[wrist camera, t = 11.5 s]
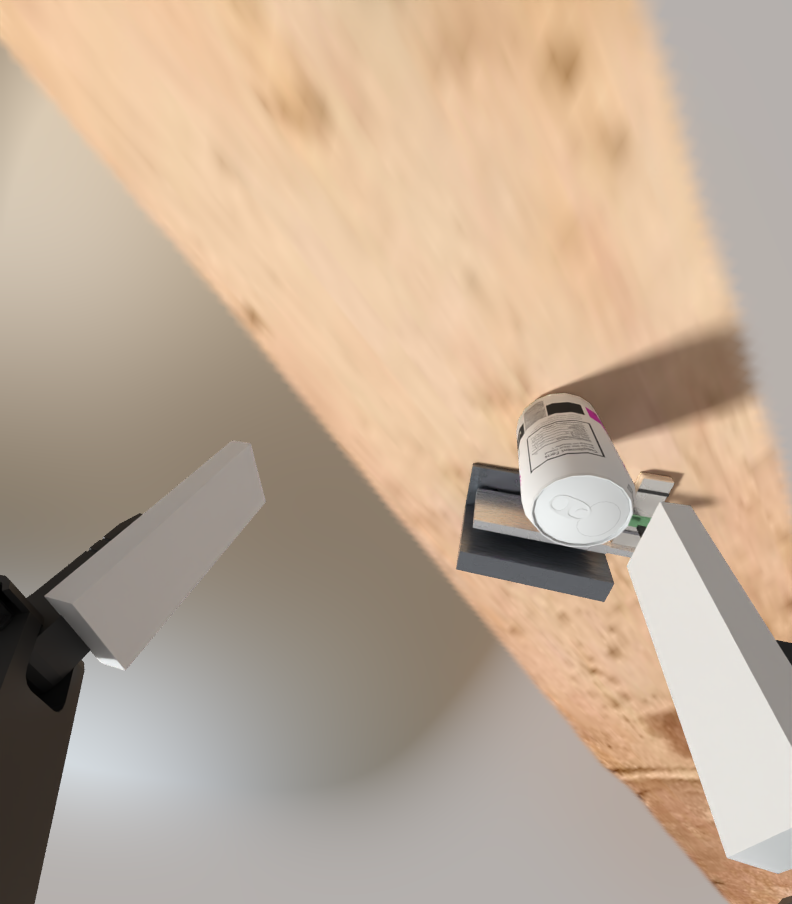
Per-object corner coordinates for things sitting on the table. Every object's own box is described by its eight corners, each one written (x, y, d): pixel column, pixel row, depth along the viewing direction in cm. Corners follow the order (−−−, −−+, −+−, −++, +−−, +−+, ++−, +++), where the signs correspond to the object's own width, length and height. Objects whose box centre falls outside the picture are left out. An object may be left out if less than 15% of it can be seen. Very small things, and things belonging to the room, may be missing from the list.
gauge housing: (476, 446, 44) (471, 490, 36) (670, 476, 40) (708, 533, 32) (463, 518, 50) (456, 569, 42) (630, 551, 46) (655, 613, 39)
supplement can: (614, 408, 38) (669, 496, 25) (568, 468, 42) (596, 567, 30) (541, 378, 38) (560, 450, 26) (503, 440, 43) (504, 527, 30)
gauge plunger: (477, 488, 46) (474, 519, 41) (643, 517, 42) (662, 556, 37) (475, 495, 46) (472, 527, 41) (639, 525, 43) (657, 564, 38)
